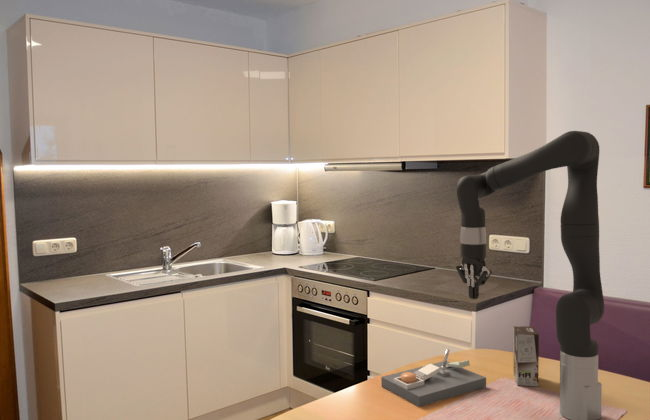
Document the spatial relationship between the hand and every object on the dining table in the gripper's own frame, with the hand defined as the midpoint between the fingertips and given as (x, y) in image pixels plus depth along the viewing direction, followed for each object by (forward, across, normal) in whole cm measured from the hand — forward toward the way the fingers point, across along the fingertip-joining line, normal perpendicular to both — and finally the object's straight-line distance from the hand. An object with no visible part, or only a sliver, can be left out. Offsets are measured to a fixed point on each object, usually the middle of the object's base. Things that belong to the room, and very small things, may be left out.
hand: (473, 298), depth 168 cm
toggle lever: (+22, +6, +7) cm, 24 cm away
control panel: (+27, +6, +11) cm, 30 cm away
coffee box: (+27, -6, -16) cm, 32 cm away
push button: (+23, +6, +20) cm, 32 cm away
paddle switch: (+23, +6, 0) cm, 23 cm away
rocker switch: (+22, +6, +14) cm, 27 cm away
